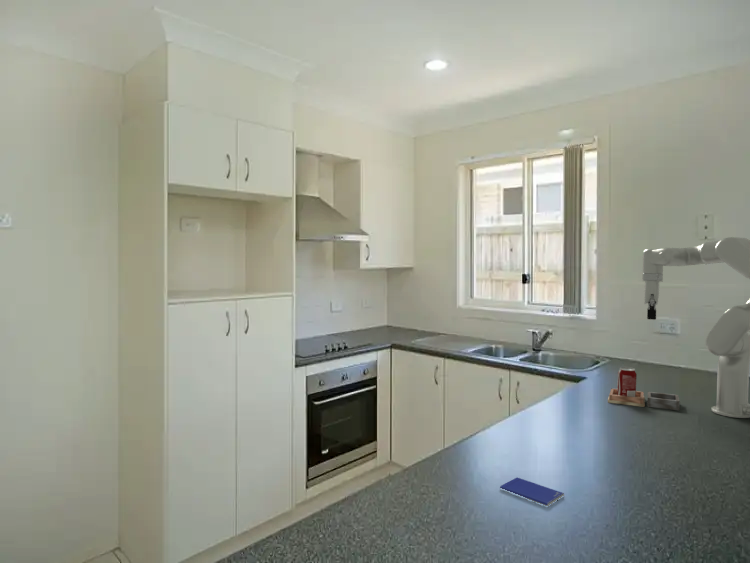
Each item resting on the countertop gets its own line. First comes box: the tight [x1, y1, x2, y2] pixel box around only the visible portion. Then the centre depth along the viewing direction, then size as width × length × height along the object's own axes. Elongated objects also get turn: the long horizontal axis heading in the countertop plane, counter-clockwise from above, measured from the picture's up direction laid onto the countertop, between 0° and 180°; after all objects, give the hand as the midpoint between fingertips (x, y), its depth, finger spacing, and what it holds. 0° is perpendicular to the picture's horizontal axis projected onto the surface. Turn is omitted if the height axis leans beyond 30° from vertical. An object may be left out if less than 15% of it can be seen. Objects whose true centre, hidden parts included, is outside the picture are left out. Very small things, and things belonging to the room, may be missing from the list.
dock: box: [607, 388, 681, 411], centre depth 202 cm, size 25×13×4 cm, turn 62°
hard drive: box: [499, 476, 565, 507], centre depth 122 cm, size 2×8×12 cm
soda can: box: [616, 366, 637, 397], centre depth 205 cm, size 7×7×12 cm
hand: (651, 318), depth 216 cm, fingers open, 9 cm apart
